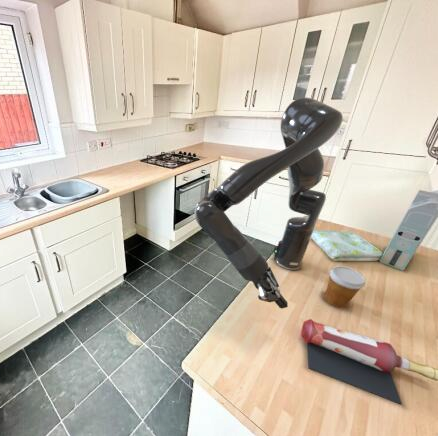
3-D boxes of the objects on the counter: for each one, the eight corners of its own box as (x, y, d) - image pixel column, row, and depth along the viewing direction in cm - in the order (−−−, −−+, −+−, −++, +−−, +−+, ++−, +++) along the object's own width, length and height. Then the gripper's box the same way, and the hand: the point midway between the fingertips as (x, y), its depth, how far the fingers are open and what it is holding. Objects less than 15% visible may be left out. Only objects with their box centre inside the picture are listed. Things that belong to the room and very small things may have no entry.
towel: (382, 262, 103) (387, 252, 100) (331, 262, 103) (335, 252, 101) (350, 238, 119) (355, 229, 116) (307, 238, 119) (310, 229, 117)
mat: (308, 368, 65) (308, 367, 65) (305, 332, 74) (306, 331, 74) (401, 404, 57) (401, 403, 57) (385, 359, 67) (385, 358, 67)
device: (387, 247, 112) (421, 186, 97) (410, 255, 107) (450, 191, 92) (378, 262, 103) (414, 197, 88) (403, 271, 98) (445, 204, 83)
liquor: (304, 342, 67) (447, 394, 55) (308, 315, 70) (446, 360, 57) (299, 341, 74) (426, 388, 61) (303, 317, 76) (426, 357, 63)
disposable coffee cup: (348, 295, 87) (362, 269, 81) (355, 315, 79) (371, 288, 74) (317, 287, 91) (328, 262, 85) (321, 306, 83) (333, 279, 77)
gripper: (255, 268, 58) (299, 321, 59) (260, 240, 69) (297, 286, 70) (229, 278, 63) (270, 327, 64) (237, 251, 73) (272, 293, 74)
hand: (284, 305), depth 67 cm, fingers closed
